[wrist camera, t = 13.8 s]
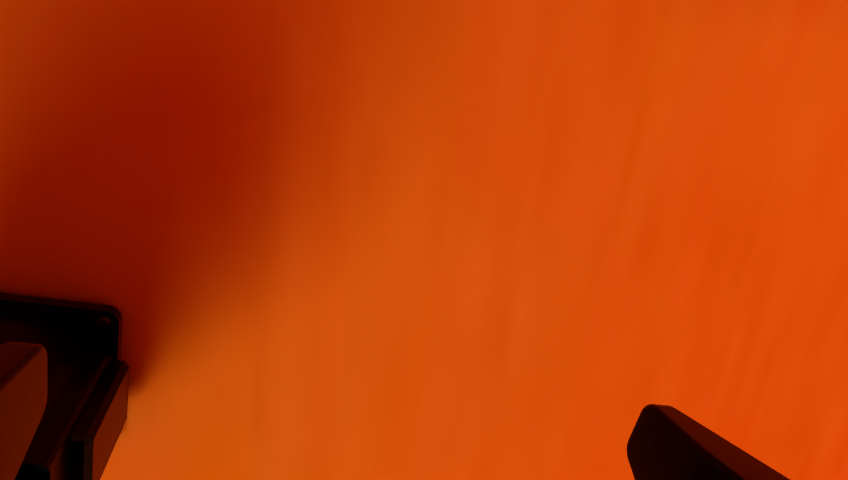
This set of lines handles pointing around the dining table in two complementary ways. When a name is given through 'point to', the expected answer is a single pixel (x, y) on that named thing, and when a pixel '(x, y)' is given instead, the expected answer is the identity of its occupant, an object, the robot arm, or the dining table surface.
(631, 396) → the dining table surface
